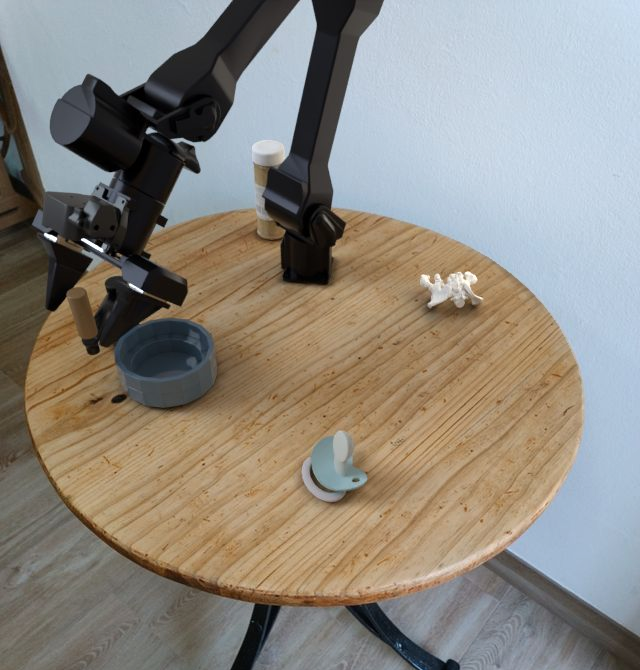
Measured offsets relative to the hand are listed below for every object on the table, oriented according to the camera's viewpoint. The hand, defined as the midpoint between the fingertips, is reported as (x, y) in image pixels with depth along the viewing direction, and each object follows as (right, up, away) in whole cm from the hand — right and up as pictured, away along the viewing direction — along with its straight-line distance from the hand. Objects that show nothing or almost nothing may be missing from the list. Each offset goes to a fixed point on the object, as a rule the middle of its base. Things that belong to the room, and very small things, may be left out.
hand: (75, 327), depth 73 cm
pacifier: (+27, -16, -1) cm, 31 cm away
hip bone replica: (+43, +6, +21) cm, 49 cm away
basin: (+8, -5, +9) cm, 13 cm away
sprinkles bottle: (+19, +19, +32) cm, 41 cm away
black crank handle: (+1, -2, +10) cm, 10 cm away
